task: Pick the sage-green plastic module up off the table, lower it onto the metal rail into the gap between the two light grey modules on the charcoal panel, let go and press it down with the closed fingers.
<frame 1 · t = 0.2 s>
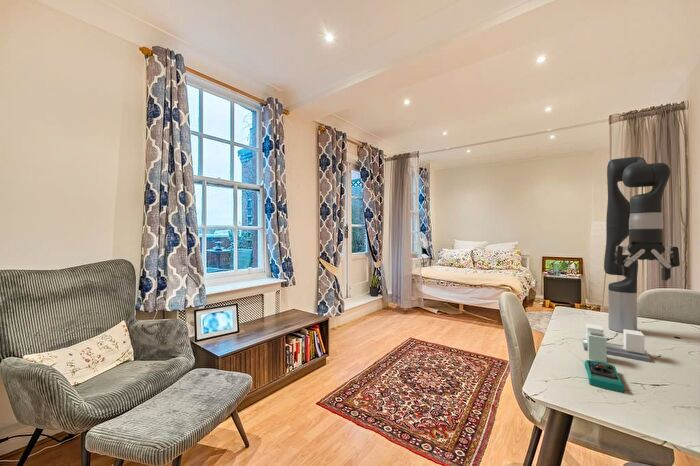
hand: (645, 279, 91), 28 cm above the table, tool pointing down, fingers open, 8 cm apart
digital multimeter: (602, 380, 85), on the table
module: (596, 357, 99), on the table
rail panel: (613, 350, 105), on the table
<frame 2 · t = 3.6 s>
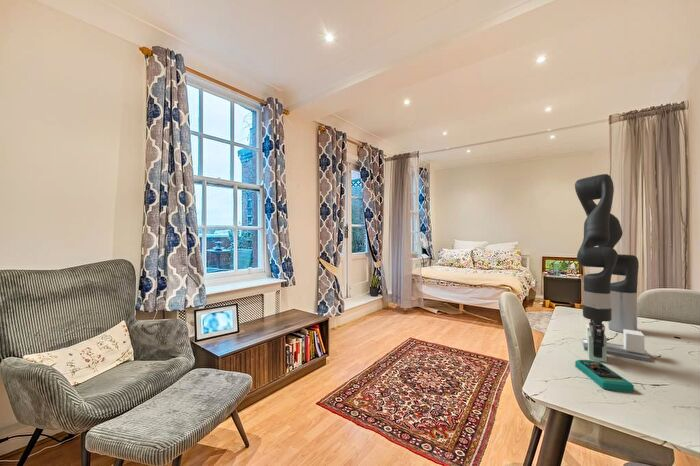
hand: (596, 353, 99), 1 cm above the table, tool pointing down, fingers closed on module, 5 cm apart
module: (596, 357, 99), on the table, touching gripper
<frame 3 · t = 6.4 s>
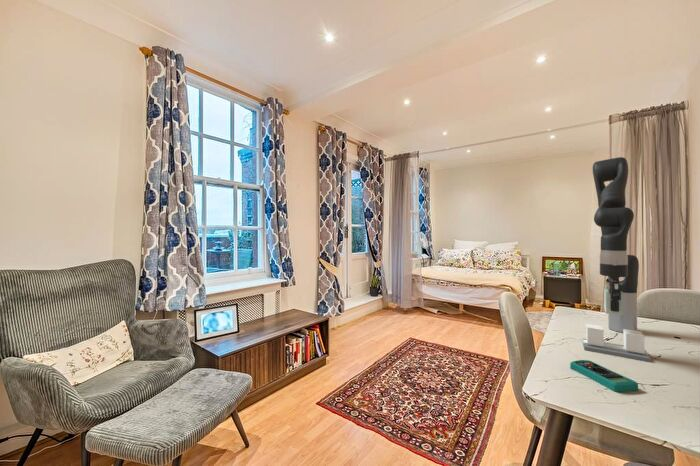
hand: (613, 309, 105), 15 cm above the table, tool pointing down, fingers closed on module, 5 cm apart
module: (613, 312, 105), point 14 cm above the table, touching gripper
when the fingers open (5 cm above the table, at t = 9.7 s): module drops 1 cm, resting on rail panel.
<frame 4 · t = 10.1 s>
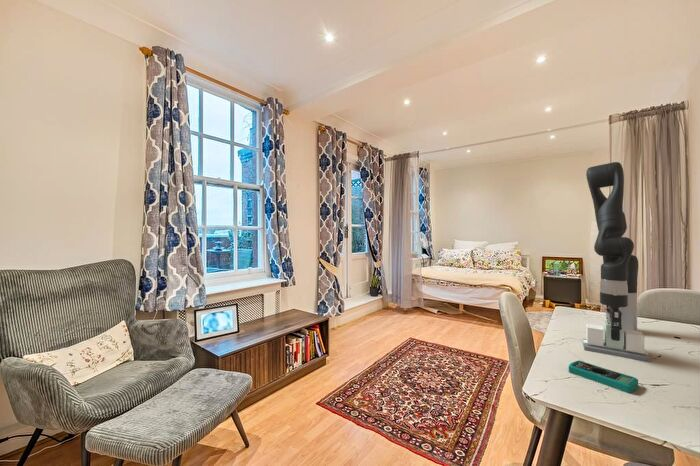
hand: (613, 336, 105), 5 cm above the table, tool pointing down, fingers open, 8 cm apart
module: (613, 345, 105), point 2 cm above the table, touching rail panel
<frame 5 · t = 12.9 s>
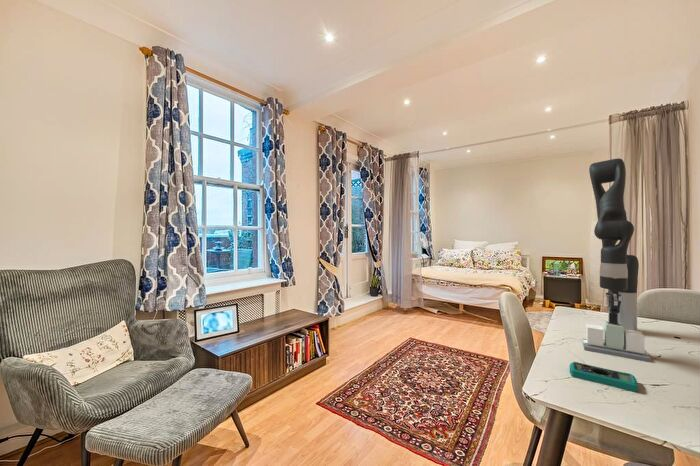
hand: (613, 323, 105), 10 cm above the table, tool pointing down, fingers closed
module: (613, 345, 105), point 2 cm above the table, touching gripper, rail panel
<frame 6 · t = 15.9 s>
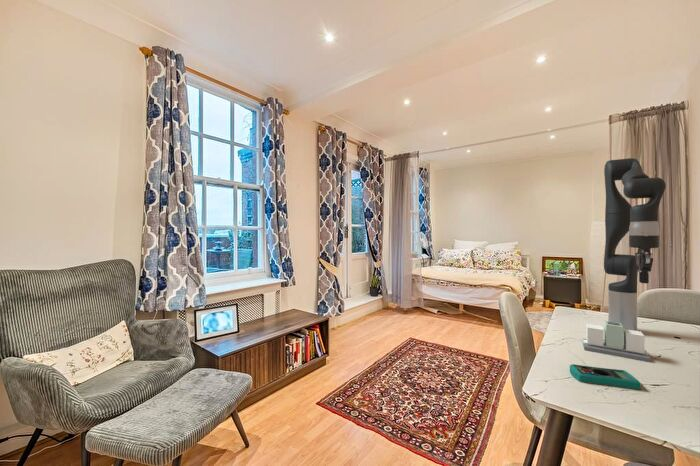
hand: (643, 282, 103), 25 cm above the table, tool pointing down, fingers closed
module: (613, 345, 105), point 2 cm above the table, touching rail panel
at the end: module 0.1 cm off-centre on the rail panel, point 1.8 cm above the rail panel's base; module tilted 0°; the gripper is holding nothing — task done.
